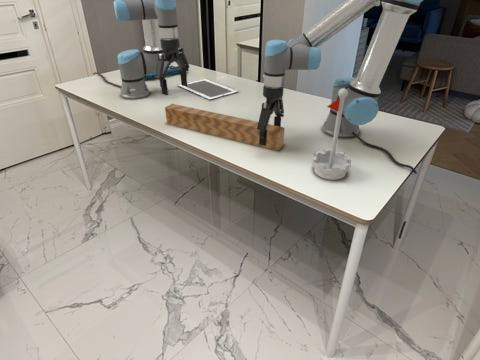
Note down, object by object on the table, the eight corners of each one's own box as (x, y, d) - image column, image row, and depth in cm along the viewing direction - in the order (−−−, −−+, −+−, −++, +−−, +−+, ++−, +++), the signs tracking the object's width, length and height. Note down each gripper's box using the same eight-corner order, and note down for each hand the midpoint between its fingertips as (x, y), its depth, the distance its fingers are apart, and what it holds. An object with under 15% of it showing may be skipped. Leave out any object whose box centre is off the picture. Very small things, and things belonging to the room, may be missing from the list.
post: (283, 145, 138) (284, 127, 134) (278, 151, 134) (279, 132, 130) (174, 119, 161) (172, 103, 156) (166, 123, 157) (164, 107, 152)
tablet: (177, 86, 203) (177, 85, 202) (205, 79, 214) (205, 78, 213) (209, 100, 182) (209, 99, 182) (238, 91, 193) (238, 91, 193)
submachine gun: (173, 60, 241) (193, 66, 225) (174, 66, 243) (193, 71, 227) (128, 69, 223) (145, 75, 206) (129, 75, 225) (146, 82, 208)
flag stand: (334, 159, 128) (348, 80, 112) (356, 176, 118) (375, 92, 101) (304, 166, 124) (314, 84, 108) (324, 184, 114) (338, 97, 97)
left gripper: (180, 32, 147) (185, 81, 159) (140, 42, 129) (149, 97, 140) (195, 34, 144) (198, 83, 156) (156, 44, 126) (163, 100, 137)
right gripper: (277, 75, 135) (274, 125, 147) (248, 93, 117) (247, 148, 128) (295, 78, 132) (290, 128, 144) (268, 97, 114) (265, 153, 125)
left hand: (175, 90), depth 148 cm, fingers open, 13 cm apart
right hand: (269, 138), depth 136 cm, fingers open, 13 cm apart
